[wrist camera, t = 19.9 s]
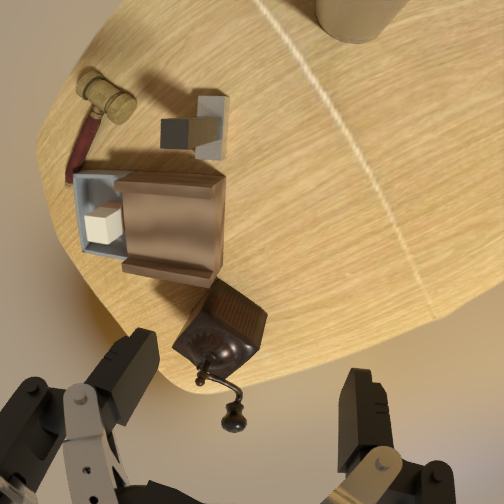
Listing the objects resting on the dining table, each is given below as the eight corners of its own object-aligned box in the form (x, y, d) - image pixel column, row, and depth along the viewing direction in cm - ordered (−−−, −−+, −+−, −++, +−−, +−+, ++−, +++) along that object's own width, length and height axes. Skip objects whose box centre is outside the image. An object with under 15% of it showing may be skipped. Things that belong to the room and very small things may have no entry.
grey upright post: (204, 96, 38) (159, 91, 26) (229, 97, 38) (193, 90, 26) (201, 156, 42) (157, 175, 30) (225, 158, 42) (190, 177, 29)
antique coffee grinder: (186, 316, 55) (144, 388, 39) (218, 276, 50) (176, 351, 34) (255, 361, 56) (234, 440, 40) (293, 329, 52) (281, 414, 36)
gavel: (76, 209, 46) (42, 176, 45) (92, 199, 50) (59, 169, 49) (125, 100, 36) (82, 70, 34) (142, 98, 40) (101, 70, 38)
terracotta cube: (128, 202, 47) (108, 201, 47) (114, 210, 43) (94, 208, 44) (130, 226, 48) (110, 223, 49) (117, 235, 45) (97, 232, 45)
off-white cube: (99, 207, 43) (84, 215, 40) (120, 209, 43) (105, 218, 39) (102, 231, 45) (87, 241, 41) (122, 233, 44) (108, 244, 41)
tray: (85, 169, 46) (72, 174, 43) (137, 170, 44) (125, 175, 41) (93, 244, 52) (82, 252, 49) (142, 252, 51) (132, 261, 47)
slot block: (138, 170, 44) (113, 181, 38) (226, 176, 43) (210, 187, 36) (143, 252, 51) (122, 272, 44) (222, 265, 49) (209, 288, 42)
